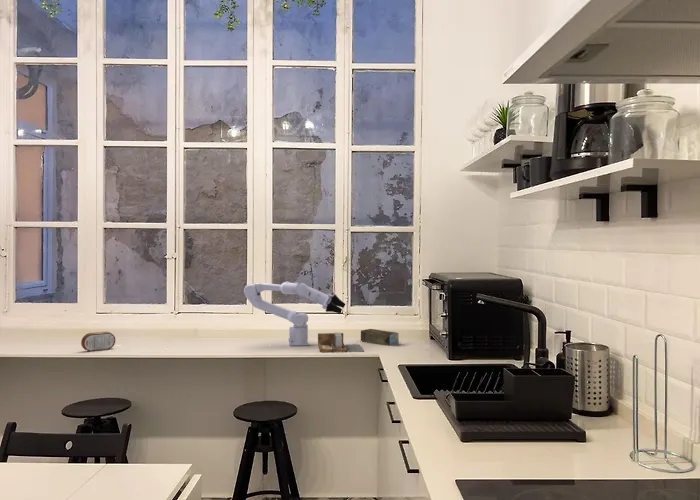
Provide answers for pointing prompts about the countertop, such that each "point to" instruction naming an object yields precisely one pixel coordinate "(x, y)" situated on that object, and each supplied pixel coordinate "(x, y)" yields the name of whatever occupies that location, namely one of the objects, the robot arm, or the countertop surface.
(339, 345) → the shiny grey metal block
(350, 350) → the mat
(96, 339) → the tin
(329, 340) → the rack
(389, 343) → the beverage carton
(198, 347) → the countertop surface
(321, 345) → the offcut top
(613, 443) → the countertop surface
